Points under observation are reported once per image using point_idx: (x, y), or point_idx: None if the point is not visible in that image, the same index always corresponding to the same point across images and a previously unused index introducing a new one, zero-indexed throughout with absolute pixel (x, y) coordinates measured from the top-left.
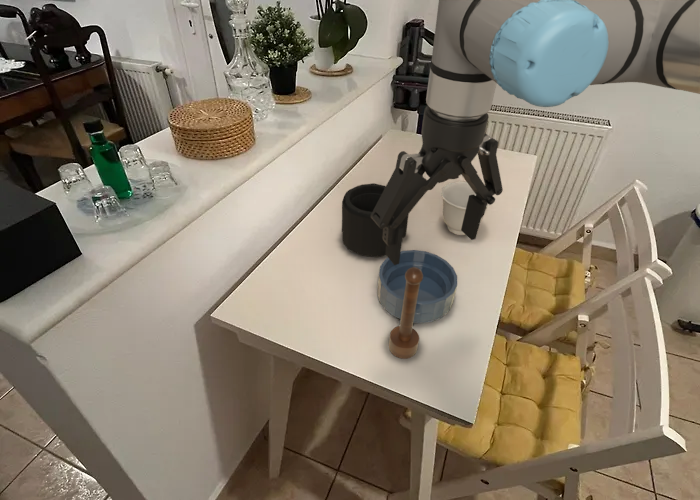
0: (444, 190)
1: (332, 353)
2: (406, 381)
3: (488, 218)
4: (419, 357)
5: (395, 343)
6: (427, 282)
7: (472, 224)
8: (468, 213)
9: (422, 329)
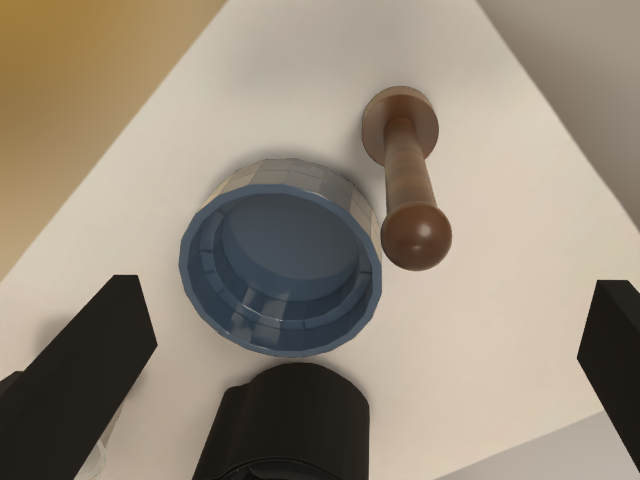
0: (90, 470)
1: (563, 172)
2: (448, 23)
3: (19, 362)
4: (377, 77)
5: (434, 123)
6: (245, 262)
7: (97, 349)
8: (88, 423)
9: (325, 149)
